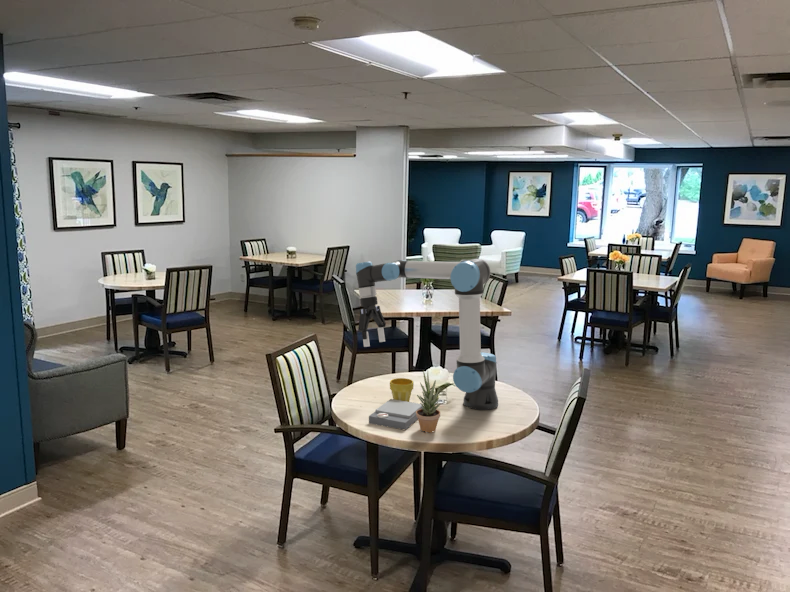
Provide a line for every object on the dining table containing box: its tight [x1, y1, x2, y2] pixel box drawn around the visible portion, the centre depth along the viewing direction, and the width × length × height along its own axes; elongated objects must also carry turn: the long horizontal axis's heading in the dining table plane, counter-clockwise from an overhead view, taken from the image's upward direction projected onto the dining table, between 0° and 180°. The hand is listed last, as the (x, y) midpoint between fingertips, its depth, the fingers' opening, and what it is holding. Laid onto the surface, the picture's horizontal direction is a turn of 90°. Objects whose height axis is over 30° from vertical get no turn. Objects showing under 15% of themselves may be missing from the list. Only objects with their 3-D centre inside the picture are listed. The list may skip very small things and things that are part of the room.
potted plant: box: [416, 370, 442, 433], centre depth 246 cm, size 10×10×25 cm
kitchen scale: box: [368, 398, 424, 431], centre depth 260 cm, size 16×20×4 cm
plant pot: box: [389, 377, 414, 402], centre depth 278 cm, size 10×10×10 cm
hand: (374, 344), depth 281 cm, fingers open, 13 cm apart
